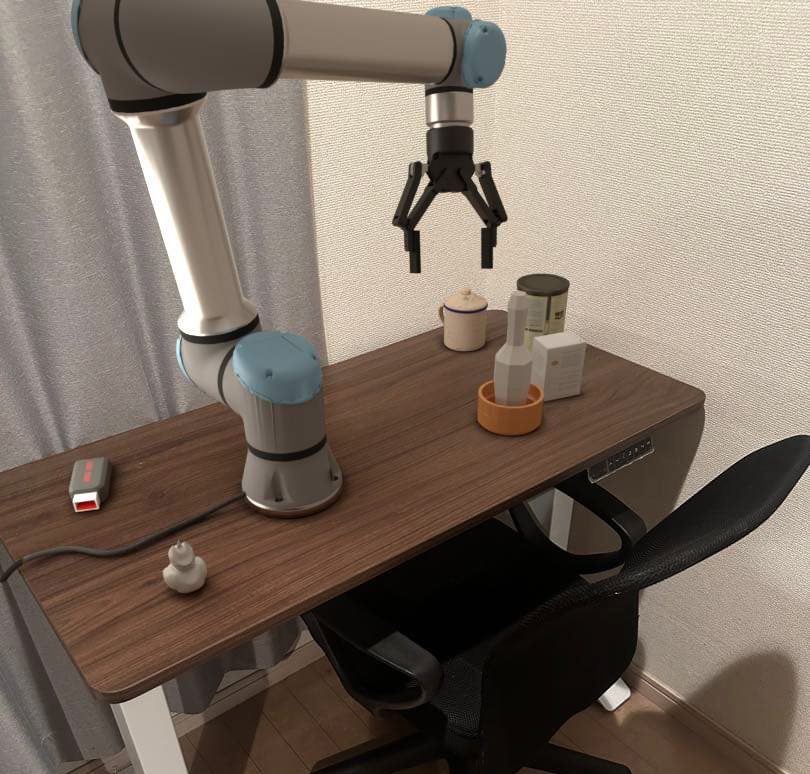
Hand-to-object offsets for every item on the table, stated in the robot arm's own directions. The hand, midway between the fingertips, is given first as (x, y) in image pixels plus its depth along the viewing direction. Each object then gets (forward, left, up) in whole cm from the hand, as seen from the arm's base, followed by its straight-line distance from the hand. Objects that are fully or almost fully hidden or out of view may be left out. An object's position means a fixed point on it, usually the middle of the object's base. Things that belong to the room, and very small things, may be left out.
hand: (451, 271), depth 126 cm
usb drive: (-64, +9, -23) cm, 68 cm away
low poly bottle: (+2, -14, -23) cm, 27 cm away
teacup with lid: (+17, +18, -23) cm, 34 cm away
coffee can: (+27, +5, -23) cm, 36 cm away
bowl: (+2, -14, -23) cm, 27 cm away
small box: (+16, -11, -23) cm, 30 cm away
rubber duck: (-61, -21, -23) cm, 68 cm away
